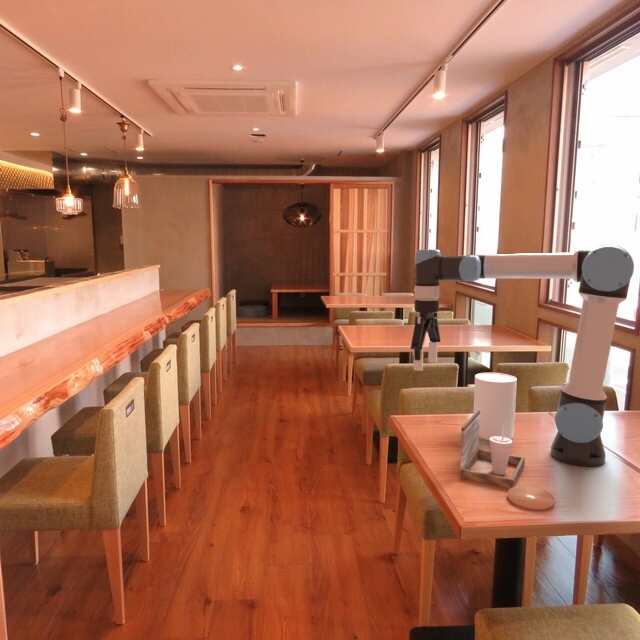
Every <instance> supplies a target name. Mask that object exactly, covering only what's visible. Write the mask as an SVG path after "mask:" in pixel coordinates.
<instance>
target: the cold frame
mask: <svg viewBox="0 0 640 640" xmlns="http://www.w3.org/2000/svg"><path fill="white" fill-rule="evenodd" d="M479 419H480V410H477V411H476V412H475V414H474V415H473V414H472V415H471V416H470V418H469V419H468V420H467V421H466V422H465V423H464V424H463V425H462V426H461V444H460V465H459V467H460V468H459V470H460V479H464V480H467V481H468V480H469V481H474V482H478V483H482V484H486V485H492V486H496V487H501V488H505V489H508V490H509V489H510V488H512V487H515V486H516V484H517V482H518V480H519V478H520V476H521V474H522V472H523V469H524V467H525V465H526V463H525V462H526V461H525V460H526V457H525V456H519V455H513V454H509V460H508V465H514V466H515V465H516V467H515V470H514V472H513V473H512V476H511V477H505V476H500V475H497V474H495V475H494V474H489V473H487V472H480V471H475V470H471V469H472V468H473V466H474V464H475V463H476V462H477V460H478V459H484V460H489V461H492V460H491V450H485V449H483V448H479V439H480V437H479Z"/></svg>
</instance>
